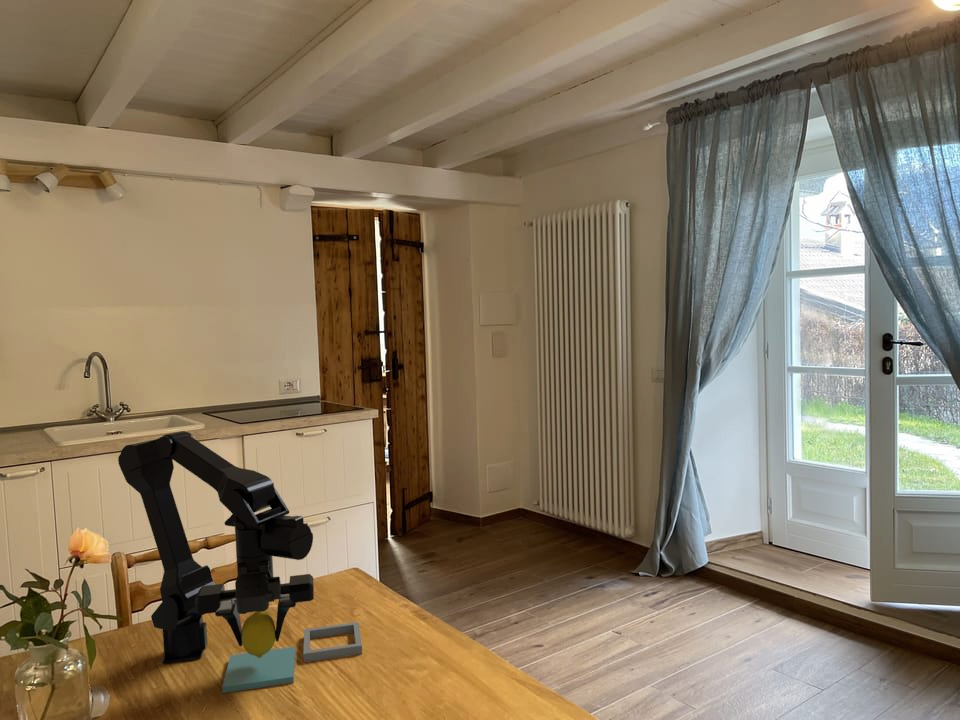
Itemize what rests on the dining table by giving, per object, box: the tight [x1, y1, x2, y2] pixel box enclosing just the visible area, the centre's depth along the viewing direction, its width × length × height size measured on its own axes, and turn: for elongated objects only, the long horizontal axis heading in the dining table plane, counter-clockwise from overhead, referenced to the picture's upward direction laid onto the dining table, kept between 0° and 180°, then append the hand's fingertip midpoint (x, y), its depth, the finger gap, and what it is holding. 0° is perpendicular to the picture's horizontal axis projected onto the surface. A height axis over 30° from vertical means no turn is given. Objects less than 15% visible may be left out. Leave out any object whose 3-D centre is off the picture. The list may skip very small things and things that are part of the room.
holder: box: [303, 621, 363, 663], centre depth 126 cm, size 10×10×2 cm
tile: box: [221, 645, 297, 694], centre depth 117 cm, size 11×11×1 cm
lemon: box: [241, 611, 276, 658], centre depth 117 cm, size 6×6×8 cm
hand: (259, 642), depth 117 cm, fingers closed on lemon, 5 cm apart
